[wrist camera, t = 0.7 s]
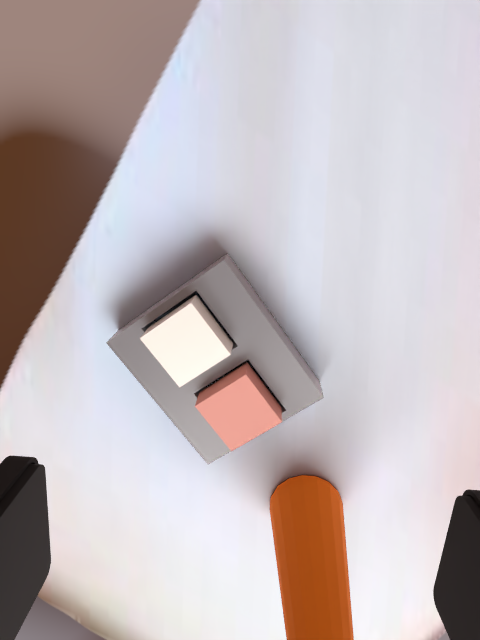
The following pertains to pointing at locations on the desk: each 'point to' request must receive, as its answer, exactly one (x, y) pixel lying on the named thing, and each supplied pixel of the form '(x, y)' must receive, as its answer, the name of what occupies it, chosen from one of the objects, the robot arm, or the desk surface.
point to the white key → (187, 341)
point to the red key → (239, 407)
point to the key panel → (248, 344)
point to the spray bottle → (311, 559)
